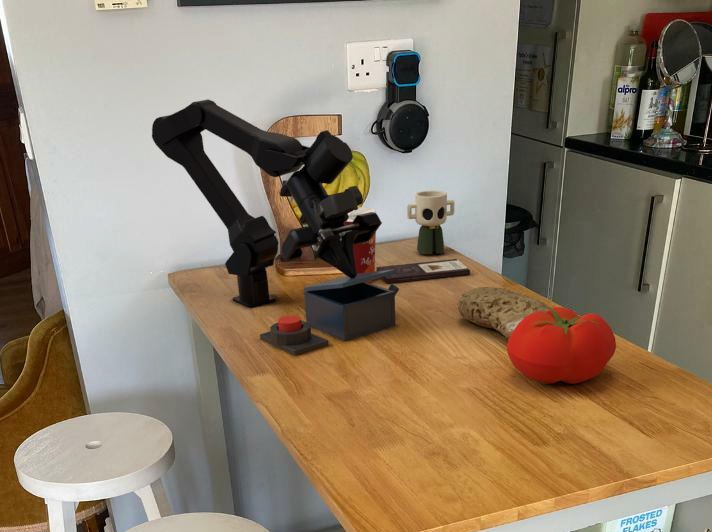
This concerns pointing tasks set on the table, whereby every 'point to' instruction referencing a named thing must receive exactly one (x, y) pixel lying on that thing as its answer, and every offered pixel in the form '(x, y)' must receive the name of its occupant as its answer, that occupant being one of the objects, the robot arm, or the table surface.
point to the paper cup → (363, 246)
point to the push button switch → (294, 339)
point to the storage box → (350, 310)
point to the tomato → (561, 346)
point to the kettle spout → (393, 288)
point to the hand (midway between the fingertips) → (354, 276)
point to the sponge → (498, 308)
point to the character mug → (430, 219)
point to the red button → (289, 323)
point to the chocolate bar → (424, 270)
